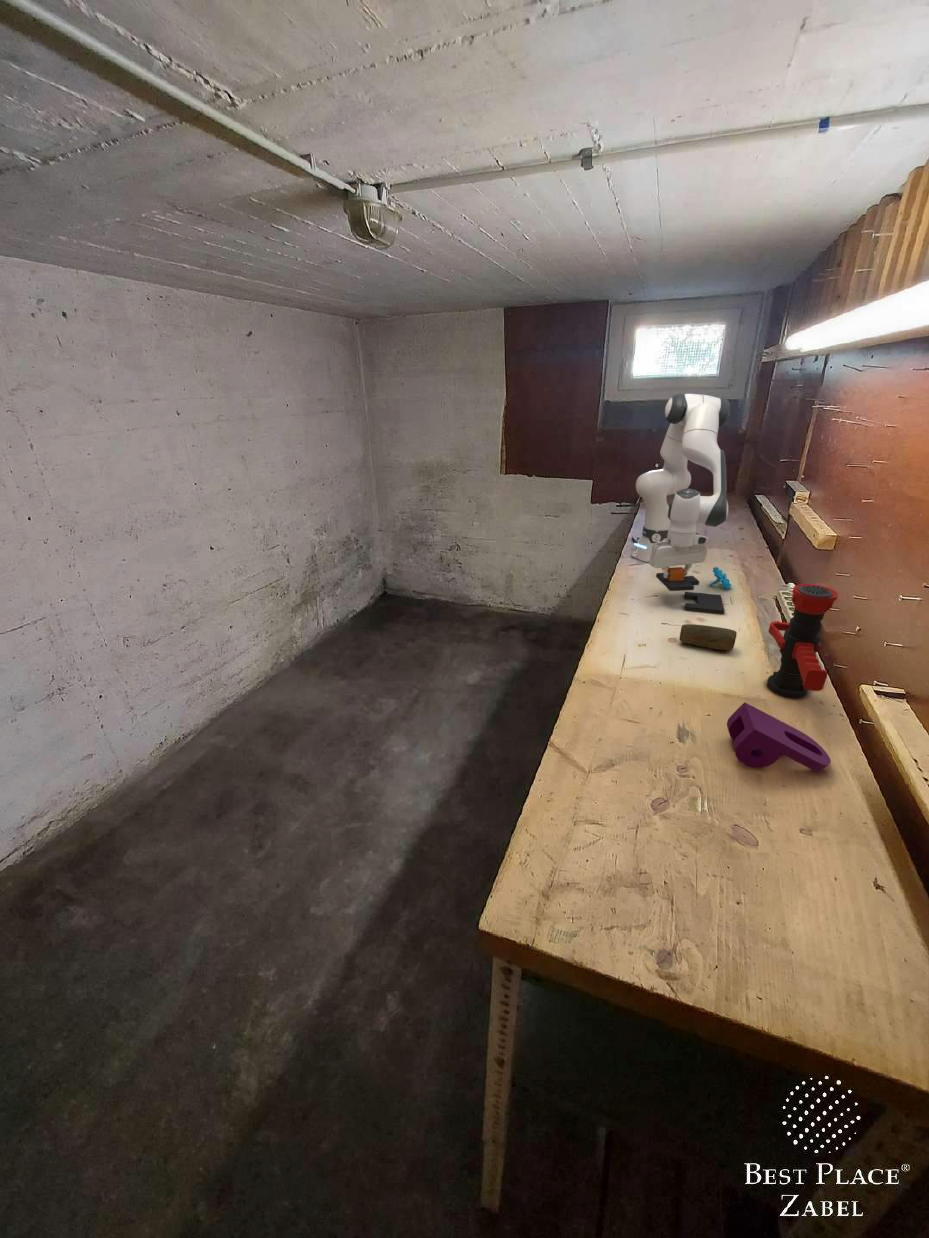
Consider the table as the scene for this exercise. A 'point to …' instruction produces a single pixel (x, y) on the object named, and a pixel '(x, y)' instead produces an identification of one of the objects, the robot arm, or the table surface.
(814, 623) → the fire hose nozzle
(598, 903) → the table surface
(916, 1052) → the table surface
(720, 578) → the gear
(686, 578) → the pad
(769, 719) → the mounting bracket
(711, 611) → the socket pad
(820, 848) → the table surface
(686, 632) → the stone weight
